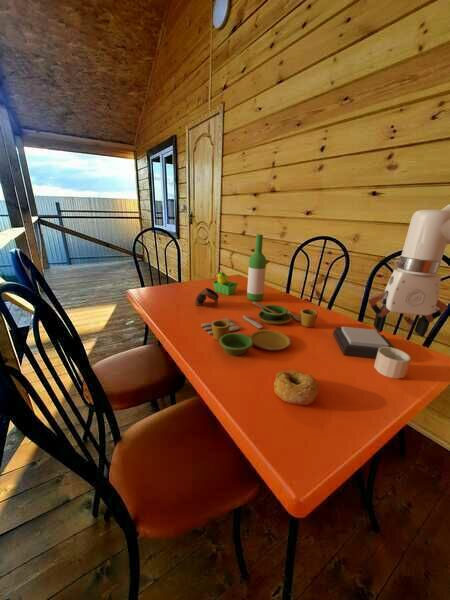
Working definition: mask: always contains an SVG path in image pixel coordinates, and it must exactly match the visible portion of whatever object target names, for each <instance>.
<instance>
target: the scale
mask: <svg viewBox="0 0 450 600" xmlns="http://www.w3.org/2000/svg"><path fill="white" fill-rule="evenodd" d="M341 329H342V327H338V326H335V329H334V330H333V333H332V335H333V337H334V339H335V342H336V344H337V345H338V347H339V349H340V351H341V353H342V355H343V356H346V357H354V358H363V359H364V358H365V359H371V360H372V359H373V360H375V359H376V356H377V352H378V349H379V348H377V347H367V346H358V345H350V344H349V343H348V341H347V339H346V338H345V336H344V334H343V333H342V331H341ZM376 331H377V330H376ZM377 332H378V331H377ZM378 334H379V335H380V336H381V337H382V338H383V339H384V340H385V341H386V343H387V344H388V345H389V346H388V347H392V348H396V347H395V346H394V345H393V344H392V342H391V341H389V339H387V337H386V336H385V335H384V334H381V333H380V332H378Z"/></svg>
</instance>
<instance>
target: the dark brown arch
mask: <svg viewBox="0 0 450 600" xmlns="http://www.w3.org/2000/svg"><path fill="white" fill-rule="evenodd" d="M219 297H220V295H218V292H215V290H212V289H211V288H209V287H205V288H204V289H202V290H200V291H199V292H198V294H197V296H196V299H195V303H194V304H195V306H196V307H198V306H200V307H201V306H203V305H204V303H205V302H206V300H207V298H209V299H210V300H212V301H214V304H213V306H214V307H217V305H218V303H219Z"/></svg>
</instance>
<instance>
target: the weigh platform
mask: <svg viewBox="0 0 450 600" xmlns="http://www.w3.org/2000/svg"><path fill="white" fill-rule="evenodd" d="M341 328H342V329H341V331H342V333H343V334H344V336H345V338H346V339H347V341H348V343H349V344H350V345H358V346H367V347H377V348H380V347H388V346H389V345H388V344H387V343H386V341H385V340H384V339H383V338H382V337H381V336H380V335H381V334H380V333H379V334H380V335H379V334H378V332H377V330H376V329H372V328H363V327H361V328H360V327H352V326H351V327H350V326H341Z"/></svg>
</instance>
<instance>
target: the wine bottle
mask: <svg viewBox="0 0 450 600" xmlns="http://www.w3.org/2000/svg"><path fill="white" fill-rule="evenodd" d="M263 239H264V234H258V233H257V234H256V235H255V248H254V253H253V254H251V255H250V257H249V261H248V272H247V288H246V289H247V290H246V298H247V300H249V301H252V302H253V301H255V302H260V301H262V300H263V299H264V293H265V292H264V291H265V282H266V281H265V280H266V268H267V267H266V266H267V258H266V256H265V254H264V253H263Z"/></svg>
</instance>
